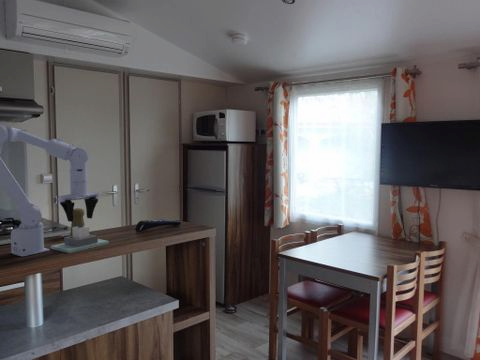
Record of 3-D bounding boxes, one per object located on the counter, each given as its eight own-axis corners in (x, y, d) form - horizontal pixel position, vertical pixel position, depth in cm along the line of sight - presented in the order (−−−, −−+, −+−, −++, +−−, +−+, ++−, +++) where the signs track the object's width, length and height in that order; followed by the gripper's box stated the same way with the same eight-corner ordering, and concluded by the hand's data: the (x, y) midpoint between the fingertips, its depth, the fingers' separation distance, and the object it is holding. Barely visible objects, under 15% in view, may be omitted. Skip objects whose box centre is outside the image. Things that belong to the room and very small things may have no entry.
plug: (79, 245, 142) (78, 224, 141) (73, 243, 144) (72, 223, 144) (89, 243, 145) (88, 222, 145) (82, 241, 148) (82, 221, 147)
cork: (66, 236, 161) (65, 209, 160) (77, 233, 167) (76, 207, 166) (79, 237, 159) (78, 210, 158) (89, 234, 165) (88, 207, 164)
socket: (69, 253, 136) (68, 242, 135) (50, 248, 142) (50, 238, 141) (108, 243, 149) (108, 234, 148) (90, 239, 155) (90, 230, 155)
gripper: (66, 183, 135) (68, 224, 136) (103, 180, 147) (104, 217, 148) (54, 182, 139) (56, 221, 140) (91, 180, 151) (92, 216, 152)
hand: (80, 219), depth 144 cm, fingers open, 7 cm apart
